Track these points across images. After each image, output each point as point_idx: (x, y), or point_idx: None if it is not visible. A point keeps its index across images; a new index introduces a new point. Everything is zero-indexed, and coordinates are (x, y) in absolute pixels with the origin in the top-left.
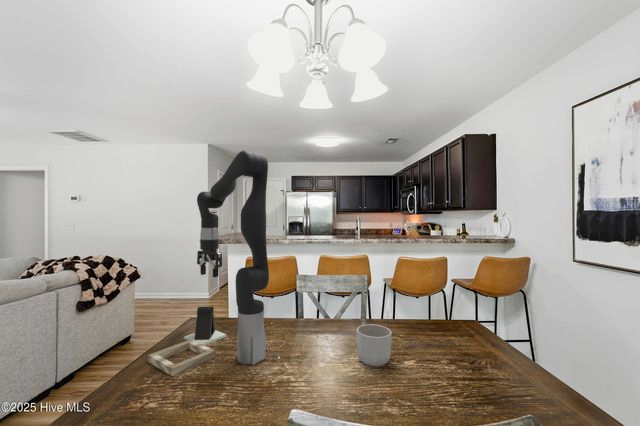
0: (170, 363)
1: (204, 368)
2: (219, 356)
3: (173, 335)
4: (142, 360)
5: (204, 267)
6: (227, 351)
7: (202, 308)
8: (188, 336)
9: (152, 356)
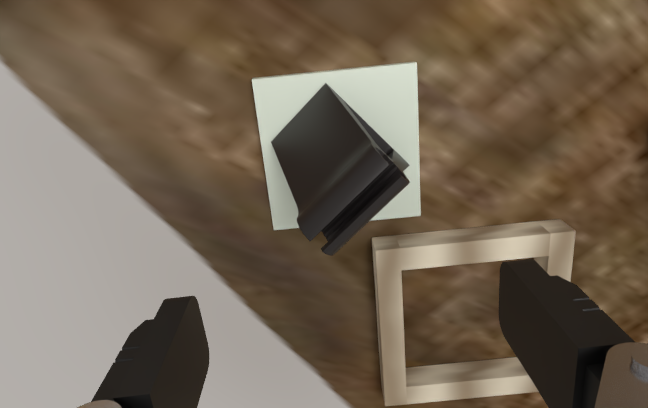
0: (519, 381)
1: (596, 285)
2: (569, 203)
3: (191, 239)
4: (353, 393)
5: (167, 402)
6: (562, 154)
7: (355, 231)
8: (288, 214)
9: (412, 401)
